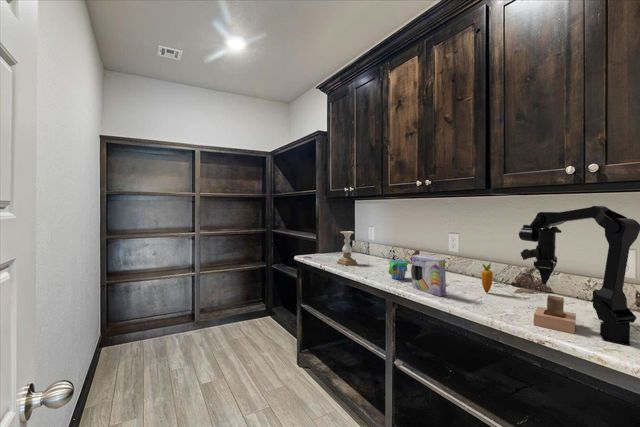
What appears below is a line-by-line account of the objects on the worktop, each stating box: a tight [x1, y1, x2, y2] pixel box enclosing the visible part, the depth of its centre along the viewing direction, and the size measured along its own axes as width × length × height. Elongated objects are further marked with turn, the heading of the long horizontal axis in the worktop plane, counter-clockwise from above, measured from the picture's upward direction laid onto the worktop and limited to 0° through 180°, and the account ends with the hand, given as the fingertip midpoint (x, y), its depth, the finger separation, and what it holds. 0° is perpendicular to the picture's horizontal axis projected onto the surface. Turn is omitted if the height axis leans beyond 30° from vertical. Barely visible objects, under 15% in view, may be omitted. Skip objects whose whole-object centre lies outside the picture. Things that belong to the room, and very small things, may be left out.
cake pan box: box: [410, 254, 447, 297], centre depth 156 cm, size 19×5×18 cm, turn 27°
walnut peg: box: [546, 294, 565, 318], centre depth 113 cm, size 4×4×10 cm
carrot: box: [481, 262, 494, 294], centre depth 154 cm, size 5×5×15 cm
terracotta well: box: [533, 306, 577, 334], centre depth 113 cm, size 12×12×4 cm
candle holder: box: [336, 230, 358, 267], centre depth 227 cm, size 11×11×24 cm
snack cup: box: [388, 259, 409, 280], centre depth 183 cm, size 16×10×10 cm
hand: (545, 282), depth 124 cm, fingers open, 9 cm apart
